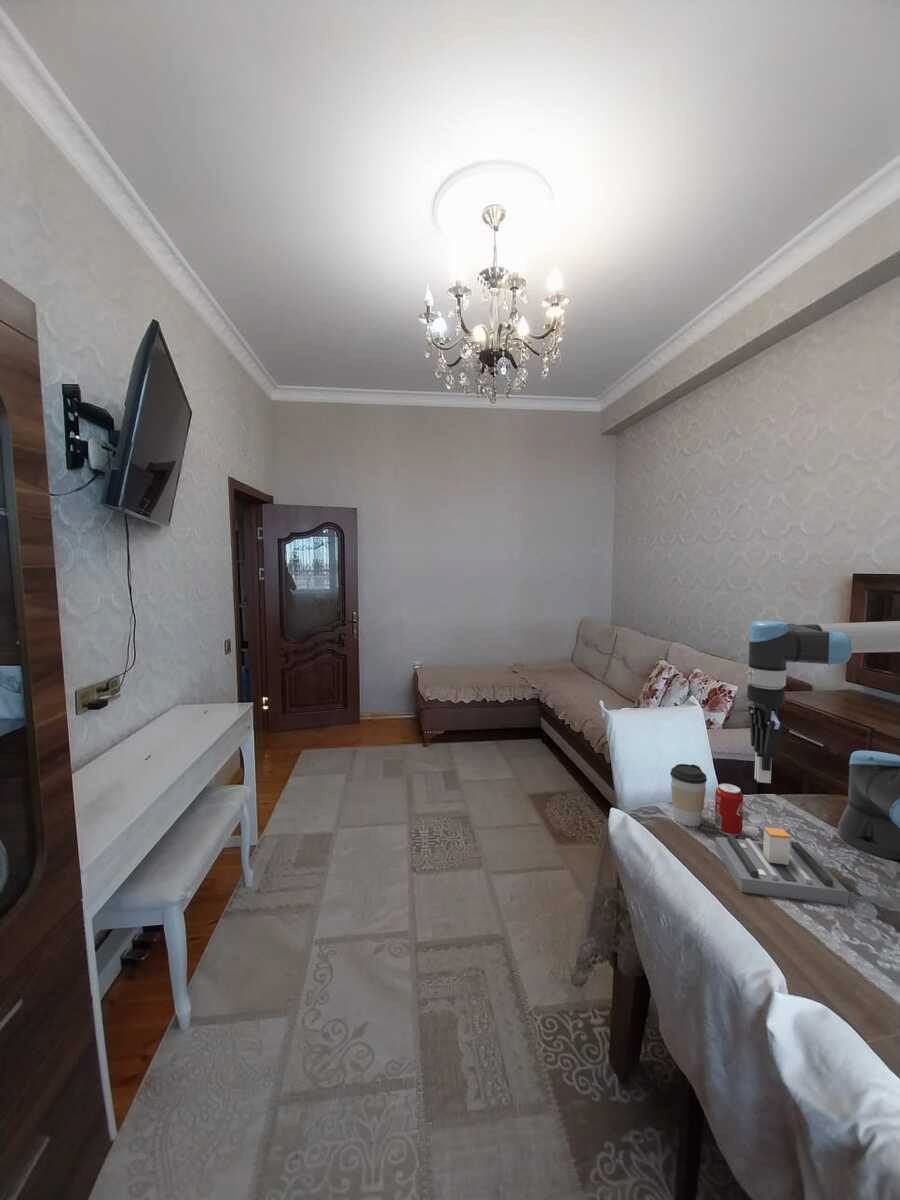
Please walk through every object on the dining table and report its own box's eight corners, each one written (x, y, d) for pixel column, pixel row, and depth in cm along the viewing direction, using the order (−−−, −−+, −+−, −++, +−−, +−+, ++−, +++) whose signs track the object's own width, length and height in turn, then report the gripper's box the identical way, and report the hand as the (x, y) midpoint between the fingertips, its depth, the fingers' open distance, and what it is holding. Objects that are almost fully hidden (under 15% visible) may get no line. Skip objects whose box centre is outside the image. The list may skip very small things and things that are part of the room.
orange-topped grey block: (782, 856, 107) (783, 829, 106) (788, 864, 104) (790, 836, 103) (763, 854, 107) (764, 827, 107) (769, 862, 104) (770, 834, 104)
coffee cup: (689, 831, 123) (691, 777, 122) (662, 815, 131) (663, 764, 130) (713, 824, 127) (714, 771, 126) (684, 808, 135) (686, 758, 134)
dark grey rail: (733, 852, 114) (734, 835, 114) (759, 891, 100) (759, 871, 100) (725, 851, 114) (726, 834, 114) (749, 890, 101) (750, 870, 100)
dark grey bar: (798, 859, 111) (799, 842, 111) (833, 900, 97) (834, 880, 97) (789, 858, 111) (790, 841, 111) (823, 899, 98) (824, 879, 97)
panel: (805, 858, 111) (806, 842, 111) (847, 905, 96) (848, 886, 96) (715, 848, 116) (715, 833, 115) (740, 891, 100) (741, 874, 100)
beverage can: (746, 839, 119) (747, 794, 119) (719, 836, 121) (720, 792, 120) (736, 826, 126) (737, 783, 125) (710, 823, 127) (712, 781, 126)
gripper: (737, 678, 118) (734, 767, 120) (761, 692, 105) (757, 792, 107) (770, 679, 117) (766, 770, 118) (798, 693, 103) (794, 795, 105)
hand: (762, 780), depth 112 cm, fingers closed
